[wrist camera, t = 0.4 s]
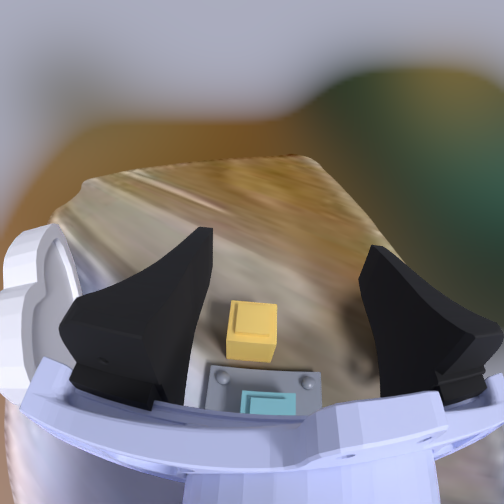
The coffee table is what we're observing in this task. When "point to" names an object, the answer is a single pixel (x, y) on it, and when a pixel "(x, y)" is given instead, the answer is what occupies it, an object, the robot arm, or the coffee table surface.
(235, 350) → the ochre brick
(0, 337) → the heart sculpture
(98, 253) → the coffee table surface
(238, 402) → the base plate
